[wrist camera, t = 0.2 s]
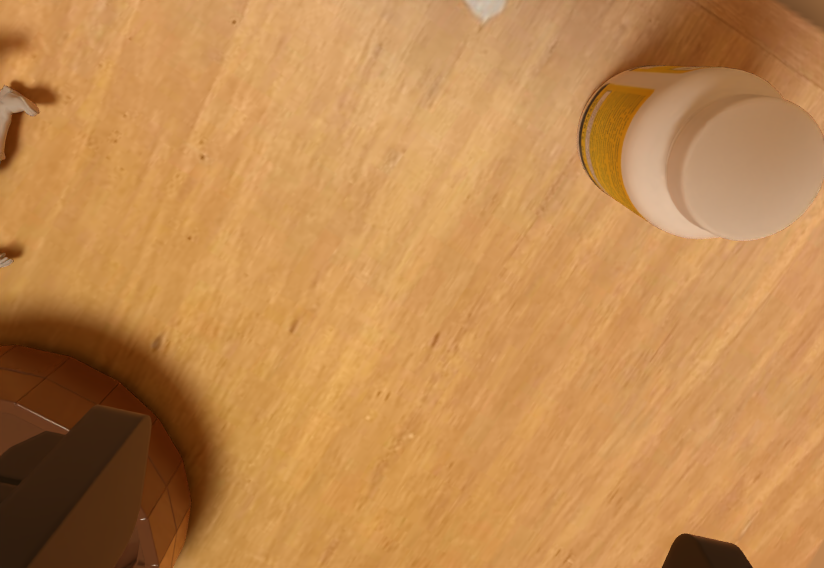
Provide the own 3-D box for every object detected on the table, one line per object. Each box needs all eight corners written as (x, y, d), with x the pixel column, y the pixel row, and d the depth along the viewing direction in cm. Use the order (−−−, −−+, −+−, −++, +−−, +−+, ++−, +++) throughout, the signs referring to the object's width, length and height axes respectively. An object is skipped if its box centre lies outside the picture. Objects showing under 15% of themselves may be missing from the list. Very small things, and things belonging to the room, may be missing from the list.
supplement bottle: (606, 221, 29) (695, 297, 19) (552, 107, 27) (621, 130, 18) (726, 161, 28) (880, 209, 19) (677, 39, 26) (818, 26, 17)
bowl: (-118, 307, 30) (-218, 352, 26) (215, 380, 31) (178, 437, 27) (-117, 573, 35) (-201, 653, 30) (173, 629, 36) (136, 715, 31)
